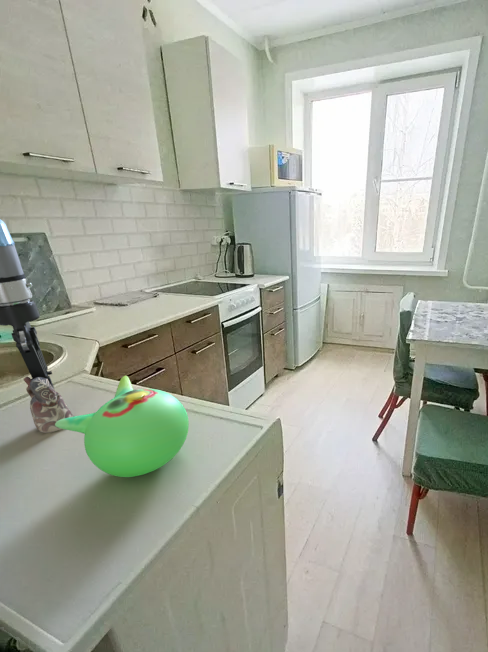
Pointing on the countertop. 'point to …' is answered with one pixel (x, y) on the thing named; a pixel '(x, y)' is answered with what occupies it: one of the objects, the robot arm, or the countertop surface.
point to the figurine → (46, 404)
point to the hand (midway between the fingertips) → (52, 403)
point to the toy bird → (132, 430)
